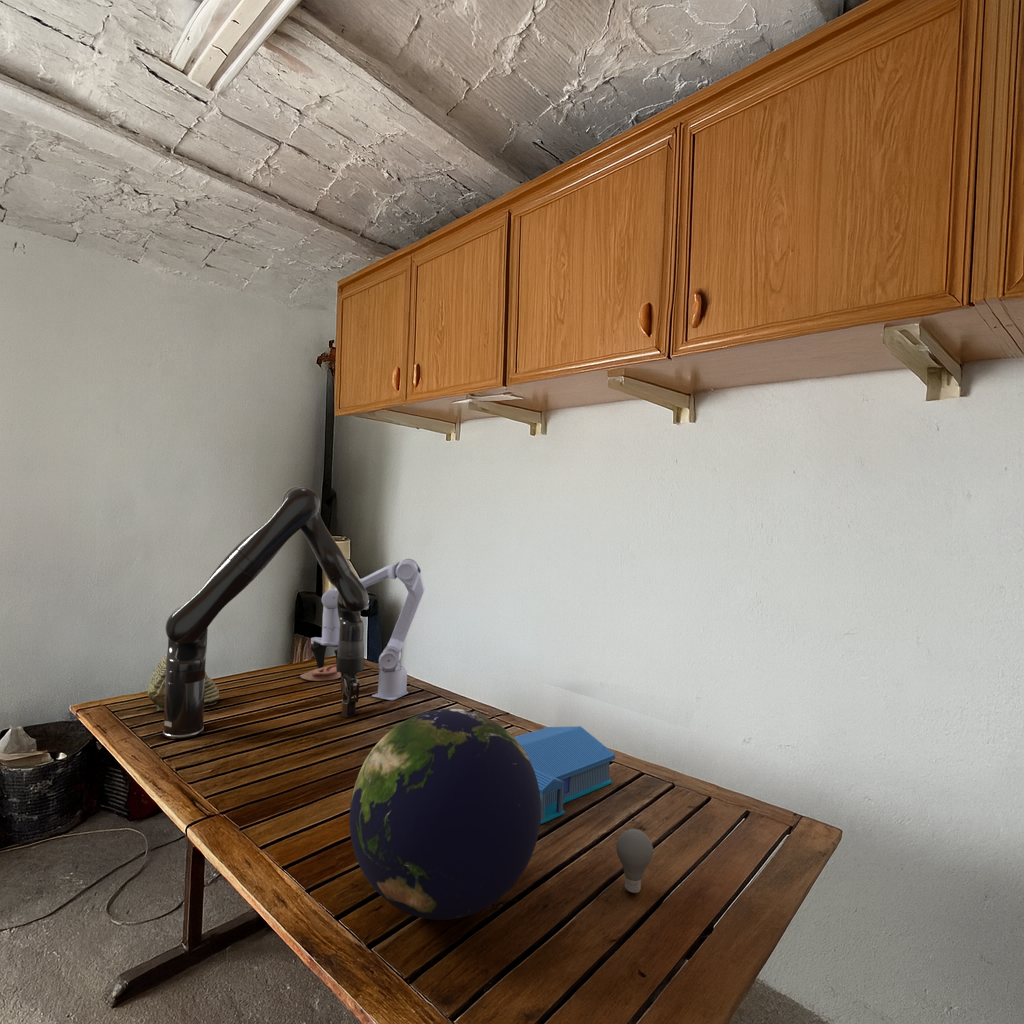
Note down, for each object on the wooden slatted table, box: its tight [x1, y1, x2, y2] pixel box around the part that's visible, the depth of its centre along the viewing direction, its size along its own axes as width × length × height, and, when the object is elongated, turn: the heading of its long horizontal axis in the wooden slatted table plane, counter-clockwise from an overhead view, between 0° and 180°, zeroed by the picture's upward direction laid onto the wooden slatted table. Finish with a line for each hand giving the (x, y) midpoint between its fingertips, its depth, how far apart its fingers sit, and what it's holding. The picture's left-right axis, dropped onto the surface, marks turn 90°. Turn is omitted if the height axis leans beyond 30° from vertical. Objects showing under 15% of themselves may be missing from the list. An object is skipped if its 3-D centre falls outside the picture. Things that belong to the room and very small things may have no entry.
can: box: [340, 699, 357, 718], centre depth 184 cm, size 4×4×4 cm
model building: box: [513, 725, 616, 825], centre depth 140 cm, size 39×24×10 cm, turn 132°
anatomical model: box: [299, 663, 341, 682], centre depth 220 cm, size 13×4×12 cm
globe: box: [349, 708, 541, 921], centre depth 100 cm, size 30×30×30 cm
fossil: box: [147, 654, 221, 712], centre depth 185 cm, size 9×18×15 cm, turn 132°
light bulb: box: [615, 828, 654, 894], centre depth 106 cm, size 6×6×10 cm
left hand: (348, 712), depth 184 cm, fingers open, 5 cm apart
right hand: (330, 669), depth 202 cm, fingers open, 7 cm apart
